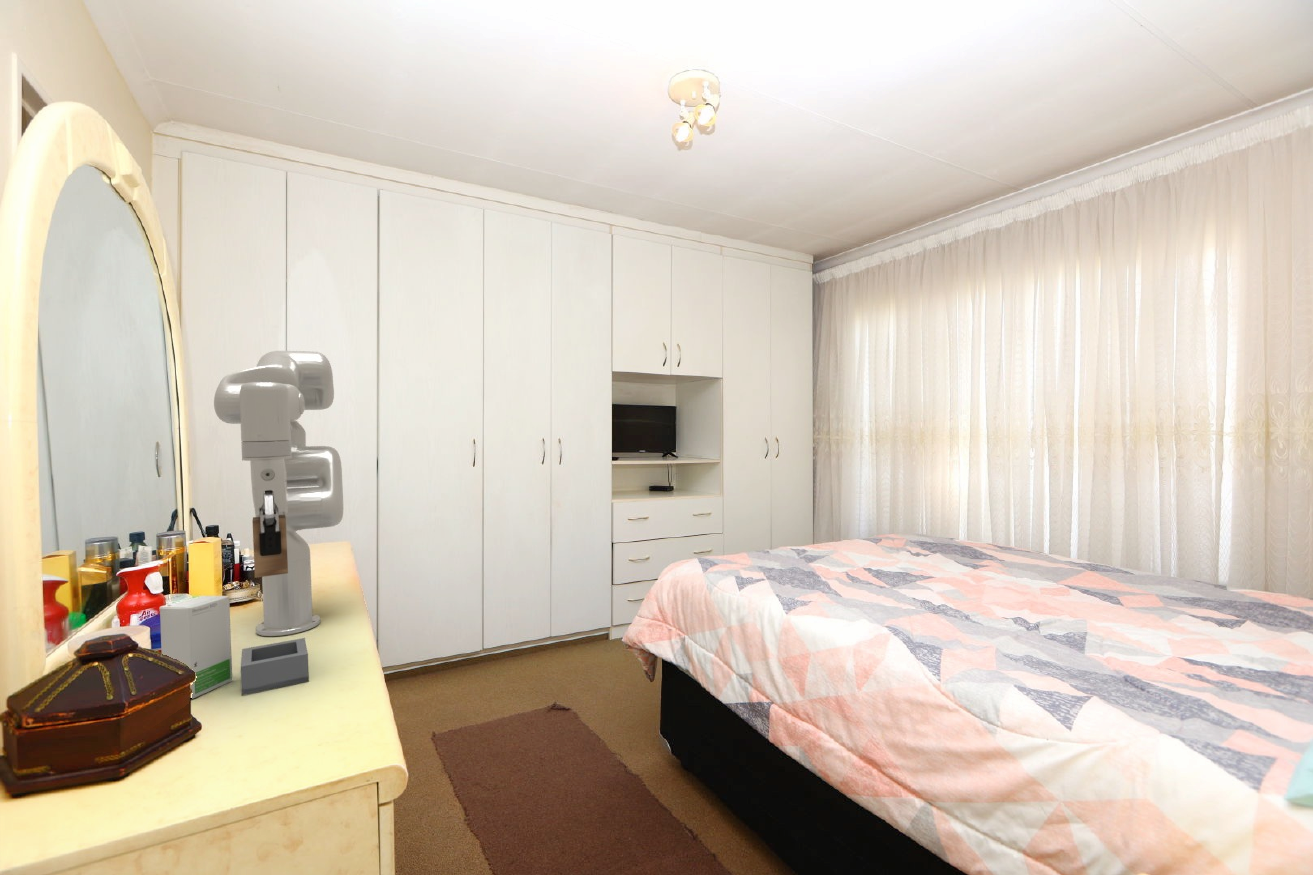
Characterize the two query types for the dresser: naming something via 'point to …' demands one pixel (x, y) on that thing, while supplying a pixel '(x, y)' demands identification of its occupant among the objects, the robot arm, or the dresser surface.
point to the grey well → (274, 666)
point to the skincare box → (199, 639)
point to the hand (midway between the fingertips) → (270, 550)
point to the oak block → (271, 562)
